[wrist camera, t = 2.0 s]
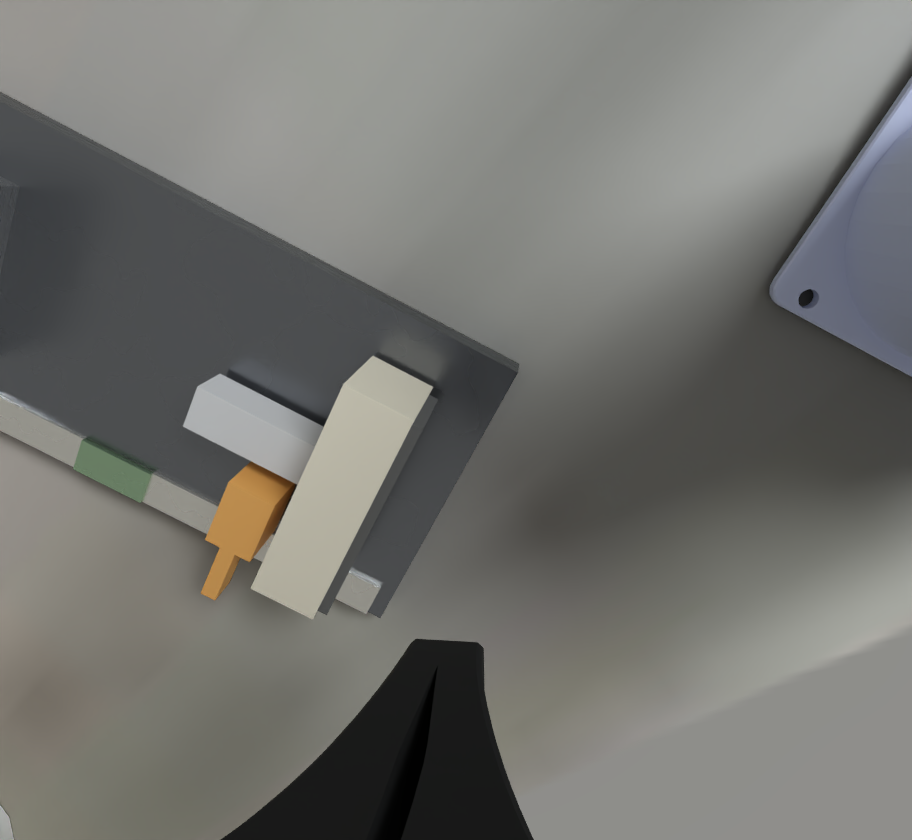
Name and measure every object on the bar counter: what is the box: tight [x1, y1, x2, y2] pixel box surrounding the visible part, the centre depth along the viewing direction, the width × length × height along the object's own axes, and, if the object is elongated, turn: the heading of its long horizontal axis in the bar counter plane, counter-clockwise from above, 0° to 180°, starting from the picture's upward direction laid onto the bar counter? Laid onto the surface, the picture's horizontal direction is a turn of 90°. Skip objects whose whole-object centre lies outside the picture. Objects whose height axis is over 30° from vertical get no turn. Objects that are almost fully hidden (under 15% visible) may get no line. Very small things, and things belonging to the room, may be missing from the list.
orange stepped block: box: [201, 461, 296, 600], centre depth 21 cm, size 2×4×2 cm, turn 153°
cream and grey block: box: [183, 356, 438, 620], centre depth 19 cm, size 6×7×3 cm
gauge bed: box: [0, 92, 519, 618], centre depth 19 cm, size 18×10×5 cm, turn 63°
